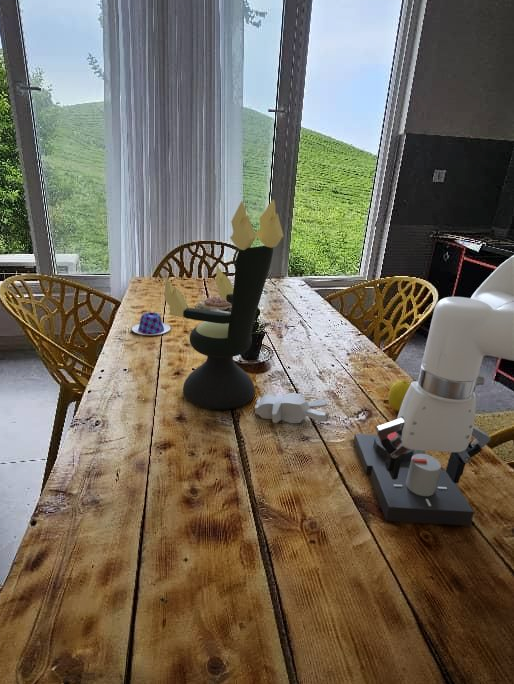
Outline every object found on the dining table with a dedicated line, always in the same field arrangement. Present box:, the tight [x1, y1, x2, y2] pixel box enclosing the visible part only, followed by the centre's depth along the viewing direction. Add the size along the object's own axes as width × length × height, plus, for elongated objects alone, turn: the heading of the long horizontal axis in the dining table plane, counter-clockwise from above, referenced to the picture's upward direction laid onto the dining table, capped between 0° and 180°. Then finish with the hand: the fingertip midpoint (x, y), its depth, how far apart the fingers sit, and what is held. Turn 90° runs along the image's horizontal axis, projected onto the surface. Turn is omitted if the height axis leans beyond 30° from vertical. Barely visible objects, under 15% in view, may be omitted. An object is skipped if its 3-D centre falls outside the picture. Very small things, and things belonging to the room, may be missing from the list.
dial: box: [406, 453, 442, 496], centre depth 71 cm, size 4×4×5 cm
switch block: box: [353, 433, 427, 476], centre depth 83 cm, size 12×10×4 cm
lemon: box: [387, 379, 411, 413], centre depth 99 cm, size 6×6×8 cm
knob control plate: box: [369, 466, 475, 527], centre depth 73 cm, size 13×10×3 cm
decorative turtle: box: [194, 295, 232, 314], centre depth 162 cm, size 18×17×5 cm
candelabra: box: [164, 199, 285, 411], centre depth 95 cm, size 19×22×45 cm
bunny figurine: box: [254, 392, 328, 424], centre depth 95 cm, size 10×5×15 cm
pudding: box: [131, 311, 171, 336], centre depth 140 cm, size 12×12×5 cm
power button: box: [388, 432, 402, 447], centre depth 82 cm, size 4×4×2 cm
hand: (421, 475), depth 72 cm, fingers open, 9 cm apart
